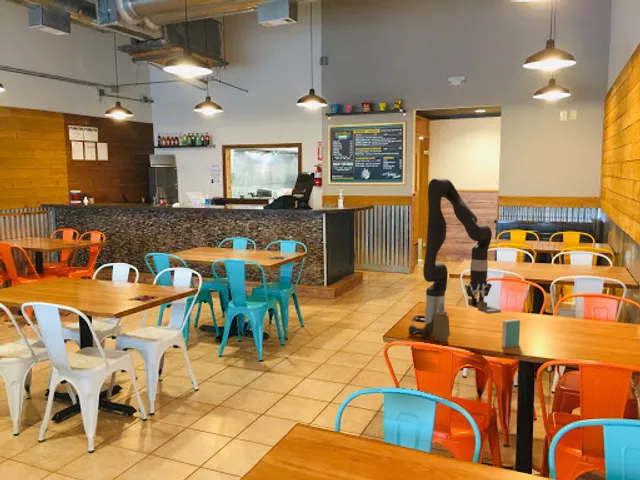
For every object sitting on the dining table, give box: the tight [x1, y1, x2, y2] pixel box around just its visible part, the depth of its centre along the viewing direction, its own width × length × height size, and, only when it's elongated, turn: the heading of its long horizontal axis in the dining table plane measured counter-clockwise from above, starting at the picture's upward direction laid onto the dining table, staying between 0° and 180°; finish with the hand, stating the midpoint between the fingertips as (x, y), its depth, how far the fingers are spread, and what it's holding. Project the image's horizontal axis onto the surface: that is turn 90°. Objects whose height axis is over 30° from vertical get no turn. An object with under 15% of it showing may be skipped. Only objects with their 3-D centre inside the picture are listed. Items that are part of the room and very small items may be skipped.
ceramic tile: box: [501, 318, 521, 348], centre depth 244 cm, size 2×8×12 cm, turn 111°
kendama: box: [408, 322, 434, 340], centre depth 261 cm, size 6×10×20 cm
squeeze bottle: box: [431, 303, 451, 343], centre depth 251 cm, size 8×8×18 cm
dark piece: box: [467, 297, 502, 315], centre depth 247 cm, size 17×7×3 cm, turn 21°
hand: (477, 305), depth 250 cm, fingers closed on dark piece, 3 cm apart
